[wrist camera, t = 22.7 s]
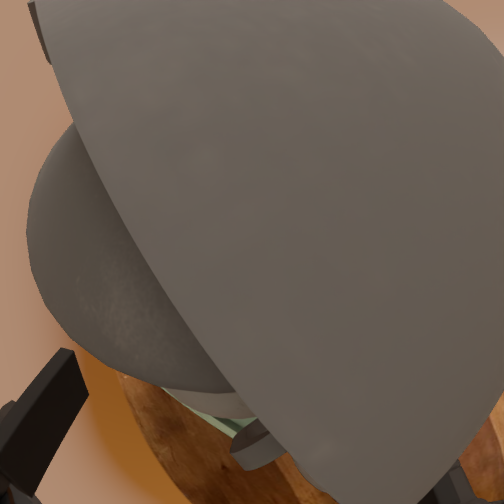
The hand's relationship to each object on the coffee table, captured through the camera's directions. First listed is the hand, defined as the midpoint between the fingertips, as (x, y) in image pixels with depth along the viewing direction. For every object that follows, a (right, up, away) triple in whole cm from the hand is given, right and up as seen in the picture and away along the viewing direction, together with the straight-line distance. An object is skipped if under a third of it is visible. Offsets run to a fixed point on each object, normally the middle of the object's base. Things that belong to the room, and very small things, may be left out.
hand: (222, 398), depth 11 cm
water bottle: (0, -4, +16) cm, 16 cm away
